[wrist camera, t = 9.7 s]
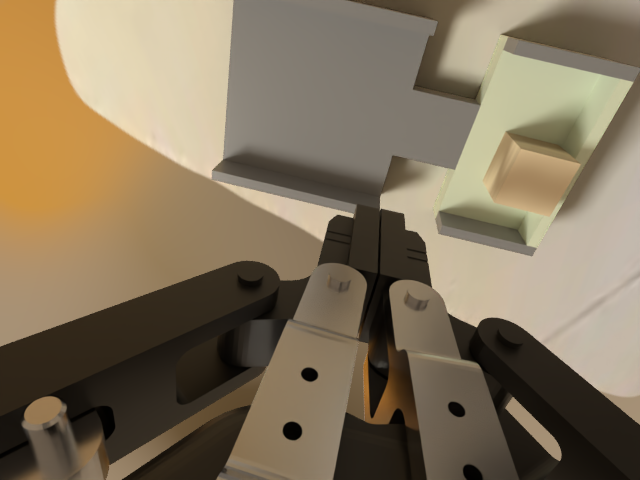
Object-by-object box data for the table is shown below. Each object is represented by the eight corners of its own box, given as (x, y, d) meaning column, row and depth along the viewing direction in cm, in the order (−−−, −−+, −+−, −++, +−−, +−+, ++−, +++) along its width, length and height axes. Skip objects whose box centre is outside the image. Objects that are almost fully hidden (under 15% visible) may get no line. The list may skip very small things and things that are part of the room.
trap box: (244, -25, 28) (222, -28, 24) (606, 58, 28) (641, 68, 24) (230, 160, 36) (211, 179, 32) (516, 228, 35) (532, 256, 31)
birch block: (505, 131, 29) (521, 148, 26) (558, 145, 29) (581, 164, 26) (482, 180, 31) (494, 202, 28) (532, 193, 31) (549, 216, 28)
